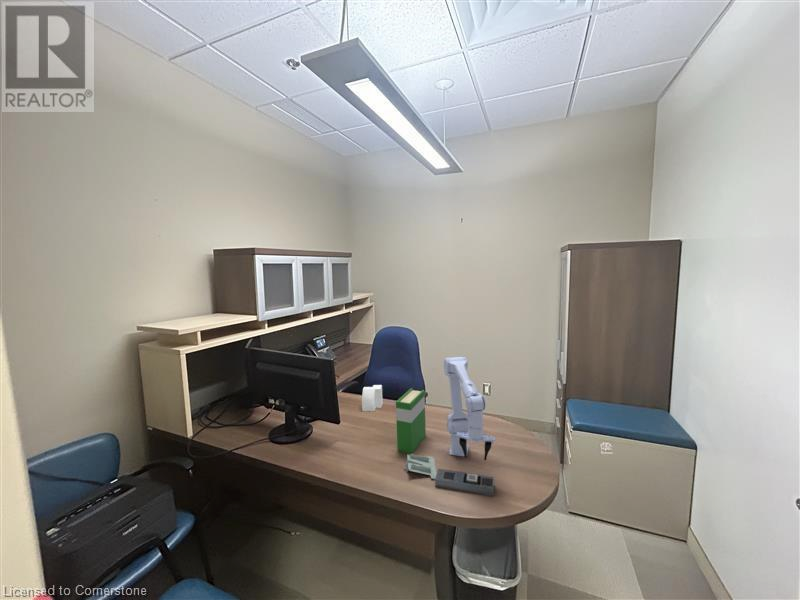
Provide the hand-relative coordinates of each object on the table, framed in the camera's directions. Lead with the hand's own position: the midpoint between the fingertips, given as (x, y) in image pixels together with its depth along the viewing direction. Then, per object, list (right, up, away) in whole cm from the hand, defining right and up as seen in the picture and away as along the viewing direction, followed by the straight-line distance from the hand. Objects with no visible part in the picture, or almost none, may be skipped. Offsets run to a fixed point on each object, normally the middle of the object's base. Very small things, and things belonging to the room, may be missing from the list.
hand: (475, 457), depth 132 cm
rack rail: (-5, -10, -2) cm, 11 cm away
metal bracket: (-21, -10, +9) cm, 25 cm away
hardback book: (-24, -7, +30) cm, 39 cm away
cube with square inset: (-2, -10, -3) cm, 11 cm away
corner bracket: (-47, -3, +71) cm, 85 cm away
